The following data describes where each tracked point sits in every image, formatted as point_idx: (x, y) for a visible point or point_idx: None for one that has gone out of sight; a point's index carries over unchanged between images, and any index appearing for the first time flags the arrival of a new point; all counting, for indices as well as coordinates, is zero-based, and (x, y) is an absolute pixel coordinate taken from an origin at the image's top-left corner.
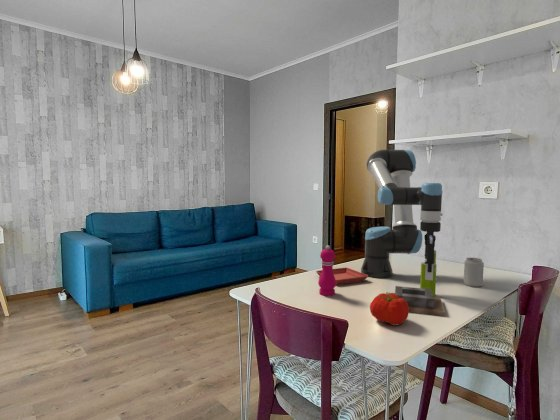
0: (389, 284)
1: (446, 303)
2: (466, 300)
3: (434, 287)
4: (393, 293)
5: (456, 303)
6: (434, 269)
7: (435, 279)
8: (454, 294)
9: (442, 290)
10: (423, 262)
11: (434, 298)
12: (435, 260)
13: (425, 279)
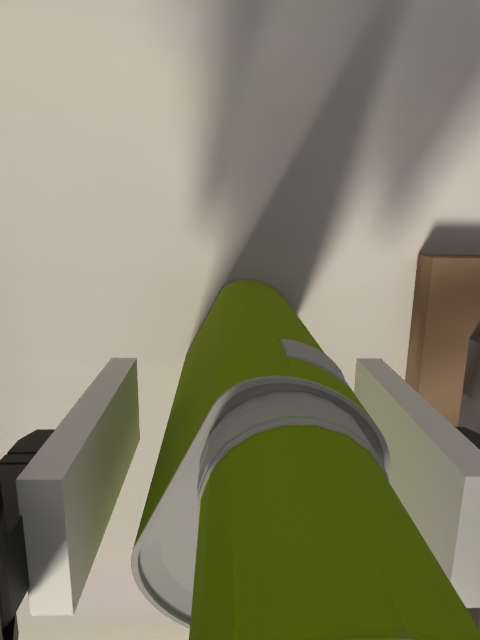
0: None
1: (455, 209)
2: (321, 7)
3: (288, 306)
4: None
5: (435, 122)
6: (347, 385)
7: (287, 317)
8: (156, 95)
9: (59, 197)
10: (155, 599)
11: (468, 311)
12: (349, 453)
13: None
